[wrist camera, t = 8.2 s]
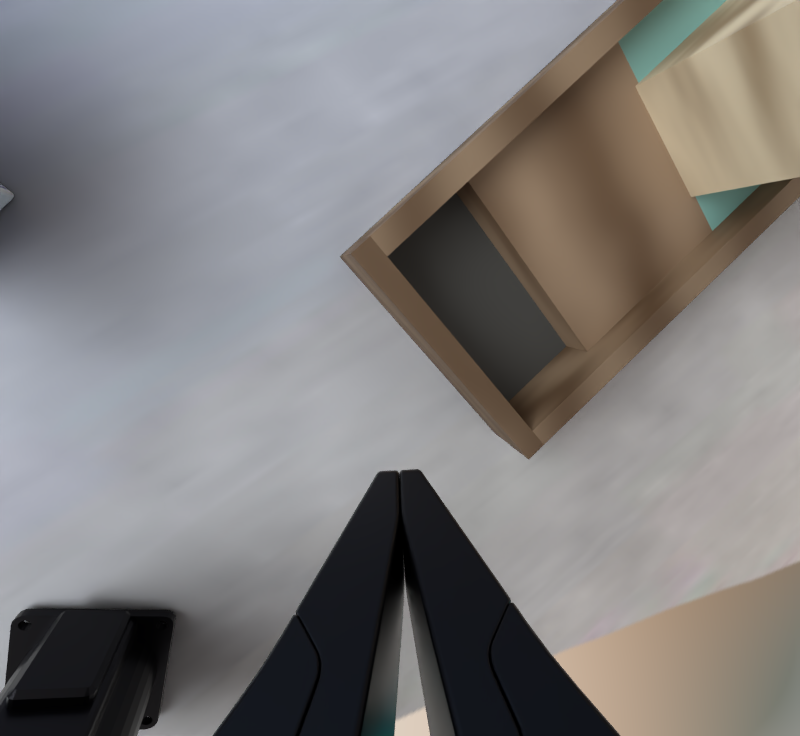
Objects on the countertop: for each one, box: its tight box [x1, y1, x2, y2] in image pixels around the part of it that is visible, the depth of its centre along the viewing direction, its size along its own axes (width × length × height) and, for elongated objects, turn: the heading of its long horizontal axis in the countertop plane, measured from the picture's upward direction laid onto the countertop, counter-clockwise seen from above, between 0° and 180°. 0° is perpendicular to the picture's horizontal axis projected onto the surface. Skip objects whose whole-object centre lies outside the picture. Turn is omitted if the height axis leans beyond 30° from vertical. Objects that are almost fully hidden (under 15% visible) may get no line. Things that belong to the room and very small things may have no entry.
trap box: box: [340, 0, 800, 459], centre depth 20 cm, size 31×12×4 cm, turn 132°
